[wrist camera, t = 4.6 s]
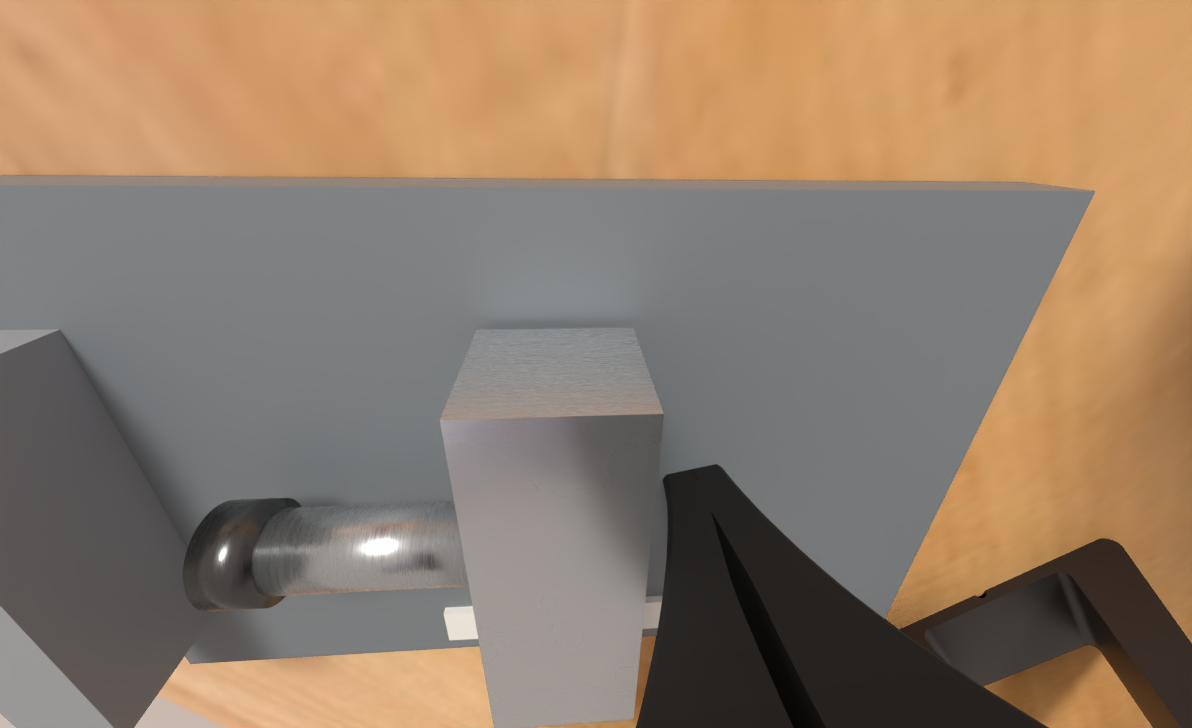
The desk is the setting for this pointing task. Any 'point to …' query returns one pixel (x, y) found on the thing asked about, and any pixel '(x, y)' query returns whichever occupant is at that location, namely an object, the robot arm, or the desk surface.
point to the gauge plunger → (494, 525)
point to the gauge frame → (430, 368)
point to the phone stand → (1072, 629)
